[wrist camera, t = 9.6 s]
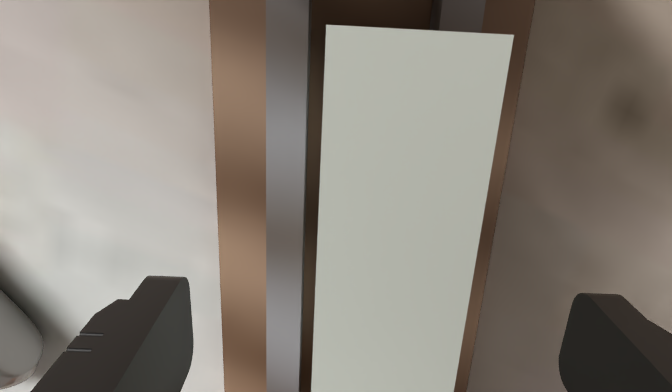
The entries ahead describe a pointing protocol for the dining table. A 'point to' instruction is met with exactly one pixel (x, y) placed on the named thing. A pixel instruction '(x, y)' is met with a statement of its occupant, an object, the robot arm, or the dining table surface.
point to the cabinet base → (309, 167)
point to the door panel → (401, 202)
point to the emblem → (17, 344)
